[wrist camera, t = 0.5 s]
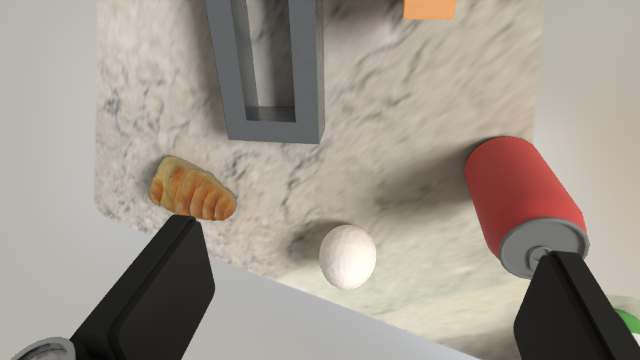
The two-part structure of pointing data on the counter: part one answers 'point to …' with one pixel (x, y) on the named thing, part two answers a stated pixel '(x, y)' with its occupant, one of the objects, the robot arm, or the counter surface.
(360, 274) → the egg
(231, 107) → the gray rectangular frame
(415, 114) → the counter surface
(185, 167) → the pastry
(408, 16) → the tall orange stepped block
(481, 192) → the beer can
